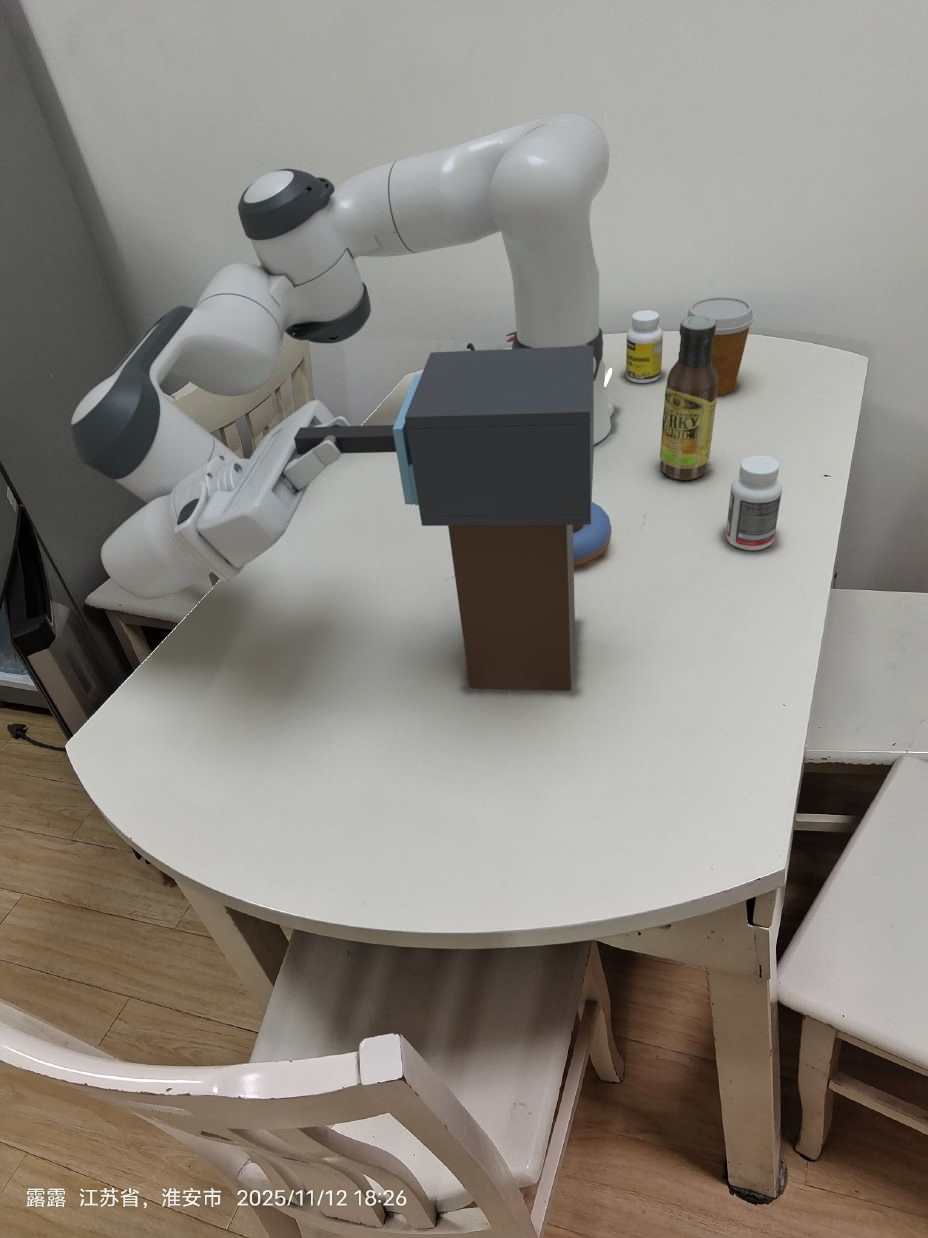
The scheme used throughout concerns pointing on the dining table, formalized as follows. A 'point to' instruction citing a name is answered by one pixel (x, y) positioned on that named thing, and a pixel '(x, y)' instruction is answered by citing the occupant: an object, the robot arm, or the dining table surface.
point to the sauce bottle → (690, 402)
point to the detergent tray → (406, 448)
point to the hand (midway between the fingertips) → (341, 435)
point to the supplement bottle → (644, 347)
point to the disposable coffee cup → (726, 335)
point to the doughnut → (591, 536)
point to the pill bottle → (754, 504)
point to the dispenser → (508, 499)
